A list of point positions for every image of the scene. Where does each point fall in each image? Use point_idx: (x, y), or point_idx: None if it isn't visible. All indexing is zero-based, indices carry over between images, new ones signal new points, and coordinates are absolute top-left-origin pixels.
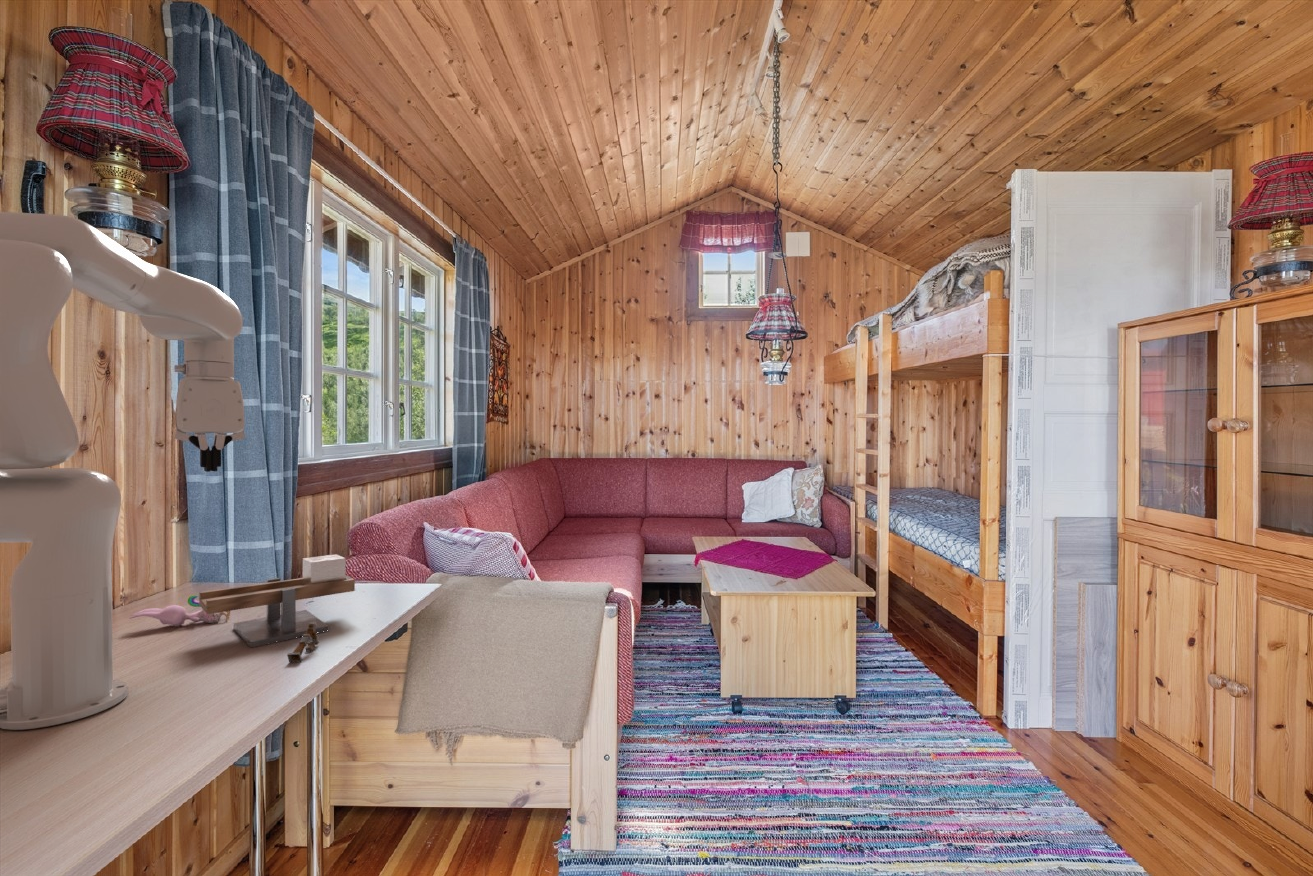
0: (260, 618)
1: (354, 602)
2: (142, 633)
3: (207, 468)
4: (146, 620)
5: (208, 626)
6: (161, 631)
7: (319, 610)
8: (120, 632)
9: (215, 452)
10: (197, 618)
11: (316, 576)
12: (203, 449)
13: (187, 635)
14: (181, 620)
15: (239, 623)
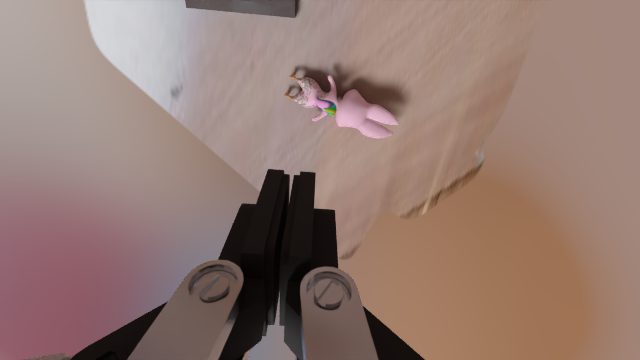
0: (256, 12)
1: (108, 25)
2: (384, 101)
3: (313, 177)
4: (363, 162)
5: (318, 66)
6: (366, 91)
7: (167, 21)
8: (399, 128)
9: (256, 237)
10: (330, 75)
11: None
12: (331, 273)
13: (350, 38)
14: (345, 93)
15: (287, 8)
